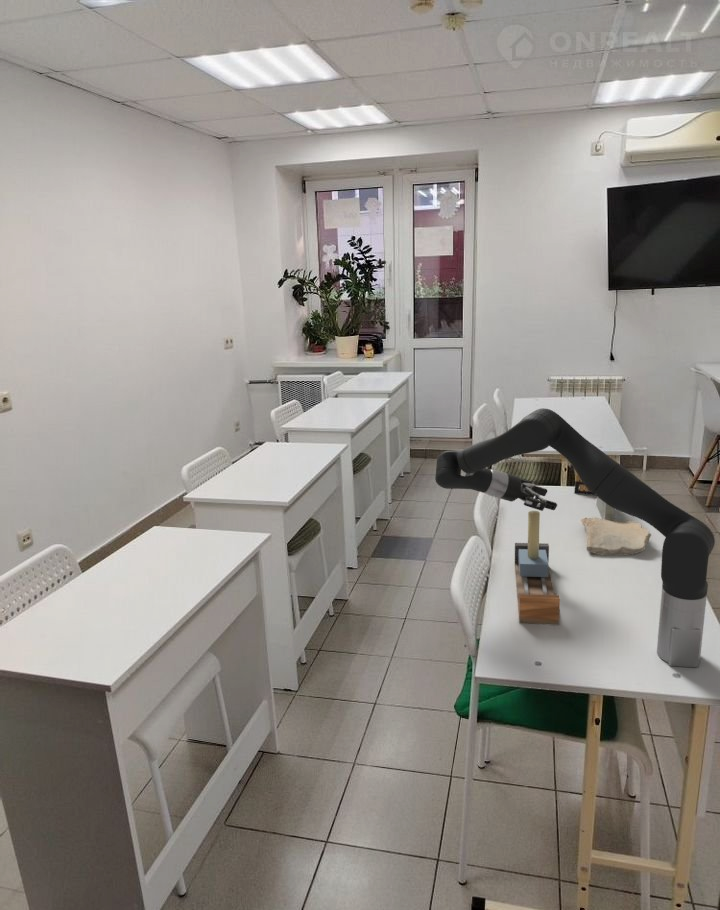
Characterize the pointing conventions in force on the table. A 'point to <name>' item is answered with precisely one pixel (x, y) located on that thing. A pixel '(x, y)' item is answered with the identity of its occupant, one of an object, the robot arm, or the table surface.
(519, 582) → the rail
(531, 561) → the carriage
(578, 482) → the ammunition clip
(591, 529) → the beige bone fragment
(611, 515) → the geiger counter
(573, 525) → the table surface
